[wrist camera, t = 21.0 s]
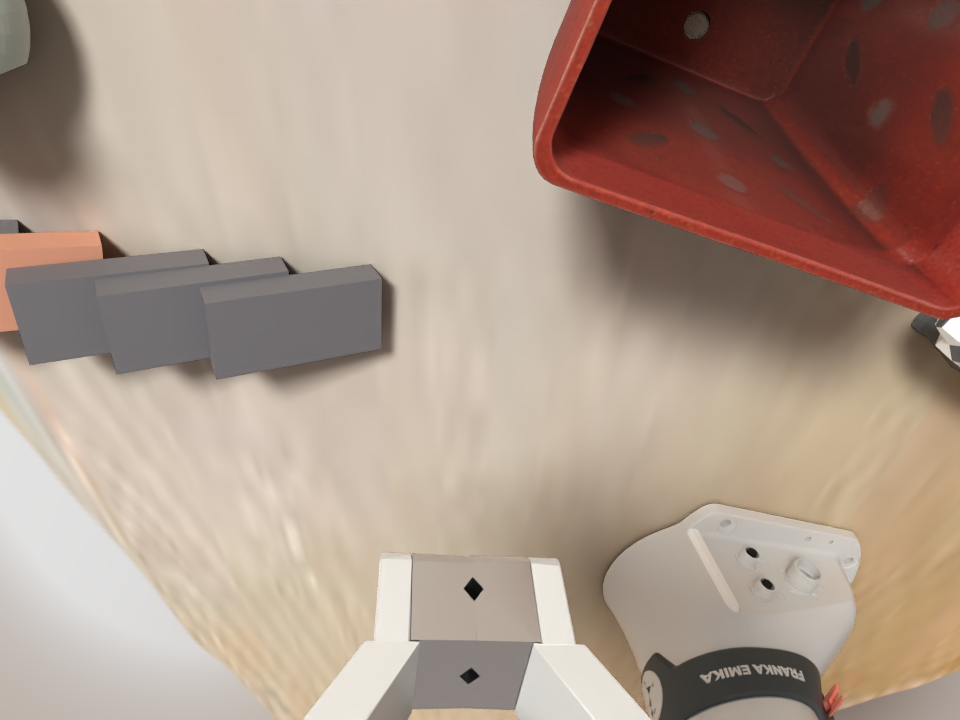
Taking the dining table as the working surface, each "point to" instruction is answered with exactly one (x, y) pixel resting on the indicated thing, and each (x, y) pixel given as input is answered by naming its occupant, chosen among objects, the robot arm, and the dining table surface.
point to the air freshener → (13, 34)
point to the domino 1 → (41, 258)
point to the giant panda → (941, 336)
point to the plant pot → (772, 131)
